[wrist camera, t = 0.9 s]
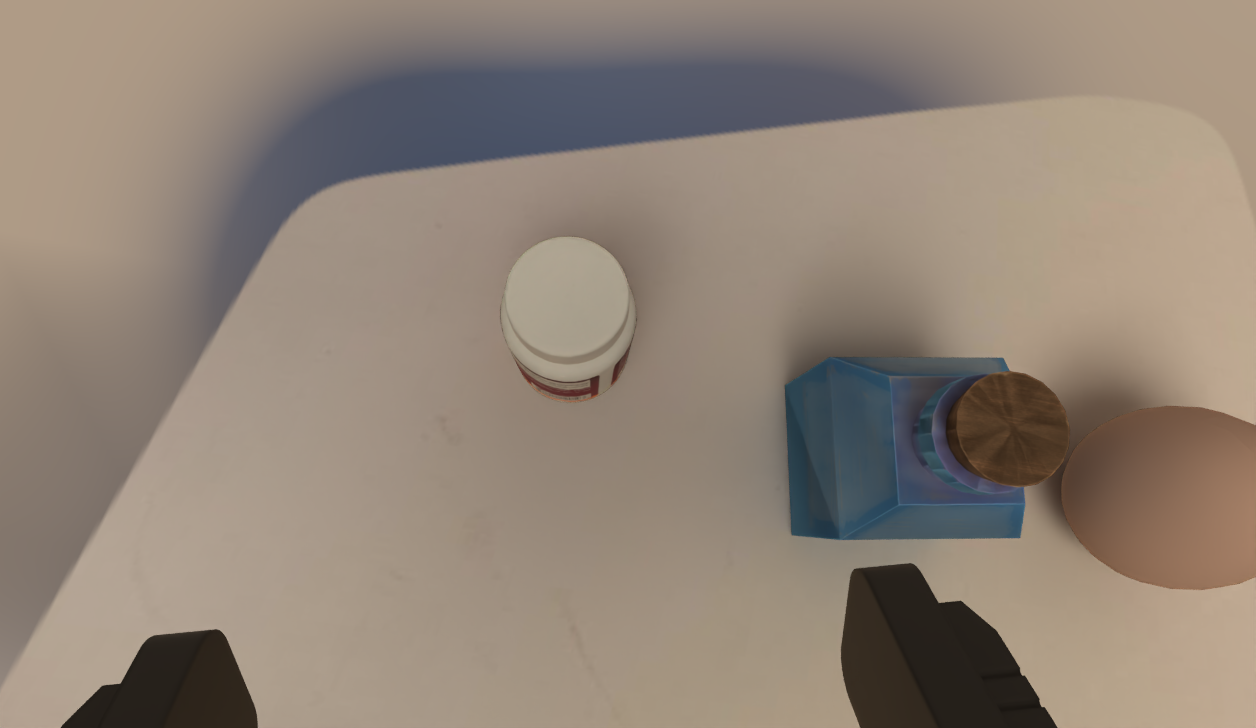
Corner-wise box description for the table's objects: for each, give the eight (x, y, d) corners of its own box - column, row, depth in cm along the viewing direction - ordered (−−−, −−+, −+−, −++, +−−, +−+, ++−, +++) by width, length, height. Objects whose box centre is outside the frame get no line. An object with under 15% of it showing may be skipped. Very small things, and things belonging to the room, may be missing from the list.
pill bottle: (581, 271, 34) (581, 195, 26) (650, 358, 34) (672, 308, 26) (491, 337, 34) (461, 280, 25) (560, 427, 33) (552, 398, 25)
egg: (1027, 578, 33) (1194, 602, 24) (1016, 418, 34) (1170, 384, 25) (1181, 581, 33) (1403, 605, 24) (1165, 422, 35) (1370, 390, 26)
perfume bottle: (791, 535, 33) (909, 546, 21) (785, 385, 34) (893, 316, 22) (939, 533, 33) (1137, 544, 21) (927, 385, 34) (1110, 317, 22)
